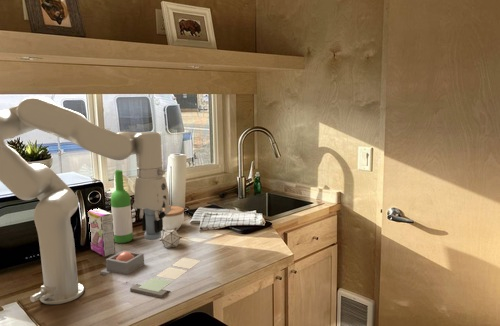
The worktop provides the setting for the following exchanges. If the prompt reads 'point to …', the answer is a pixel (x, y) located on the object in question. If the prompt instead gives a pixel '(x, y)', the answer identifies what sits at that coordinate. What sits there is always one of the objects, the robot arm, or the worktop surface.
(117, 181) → the wine bottle
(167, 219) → the lidded bowl
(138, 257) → the button housing
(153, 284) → the track board
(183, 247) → the worktop surface
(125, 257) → the dome button
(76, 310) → the worktop surface
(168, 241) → the game die
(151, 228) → the pawn
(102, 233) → the candy bar box
